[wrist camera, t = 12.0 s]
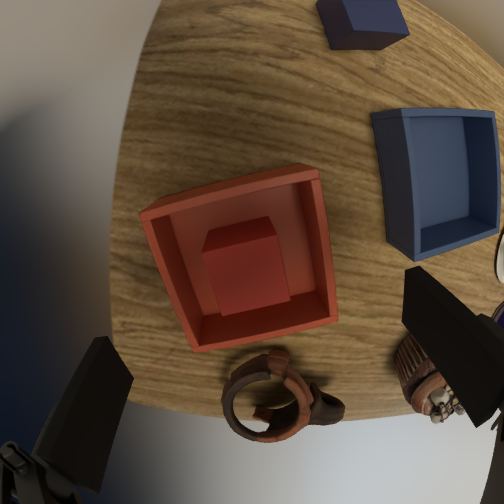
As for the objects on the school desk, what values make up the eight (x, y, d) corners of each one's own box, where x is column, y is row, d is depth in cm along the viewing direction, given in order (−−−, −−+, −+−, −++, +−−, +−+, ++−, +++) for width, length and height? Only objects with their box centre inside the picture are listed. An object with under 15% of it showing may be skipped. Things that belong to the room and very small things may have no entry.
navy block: (315, 4, 14) (332, -22, 10) (365, 5, 14) (389, -16, 10) (331, 50, 16) (353, 30, 12) (381, 50, 16) (410, 35, 12)
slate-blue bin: (370, 113, 18) (400, 108, 14) (461, 111, 18) (494, 111, 13) (386, 241, 22) (414, 262, 18) (469, 218, 22) (499, 232, 17)
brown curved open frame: (231, 409, 29) (209, 443, 21) (239, 334, 30) (218, 351, 22) (333, 422, 27) (340, 460, 19) (349, 347, 28) (365, 368, 20)
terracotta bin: (157, 199, 20) (138, 213, 15) (300, 163, 19) (318, 168, 15) (199, 319, 24) (194, 353, 19) (322, 291, 23) (338, 321, 19)
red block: (207, 230, 20) (200, 253, 16) (268, 215, 20) (277, 234, 16) (224, 284, 22) (221, 316, 18) (280, 270, 22) (291, 301, 18)
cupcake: (399, 387, 29) (430, 444, 20) (376, 350, 26) (416, 420, 17) (456, 342, 28) (496, 391, 18) (444, 296, 25) (500, 350, 15)
